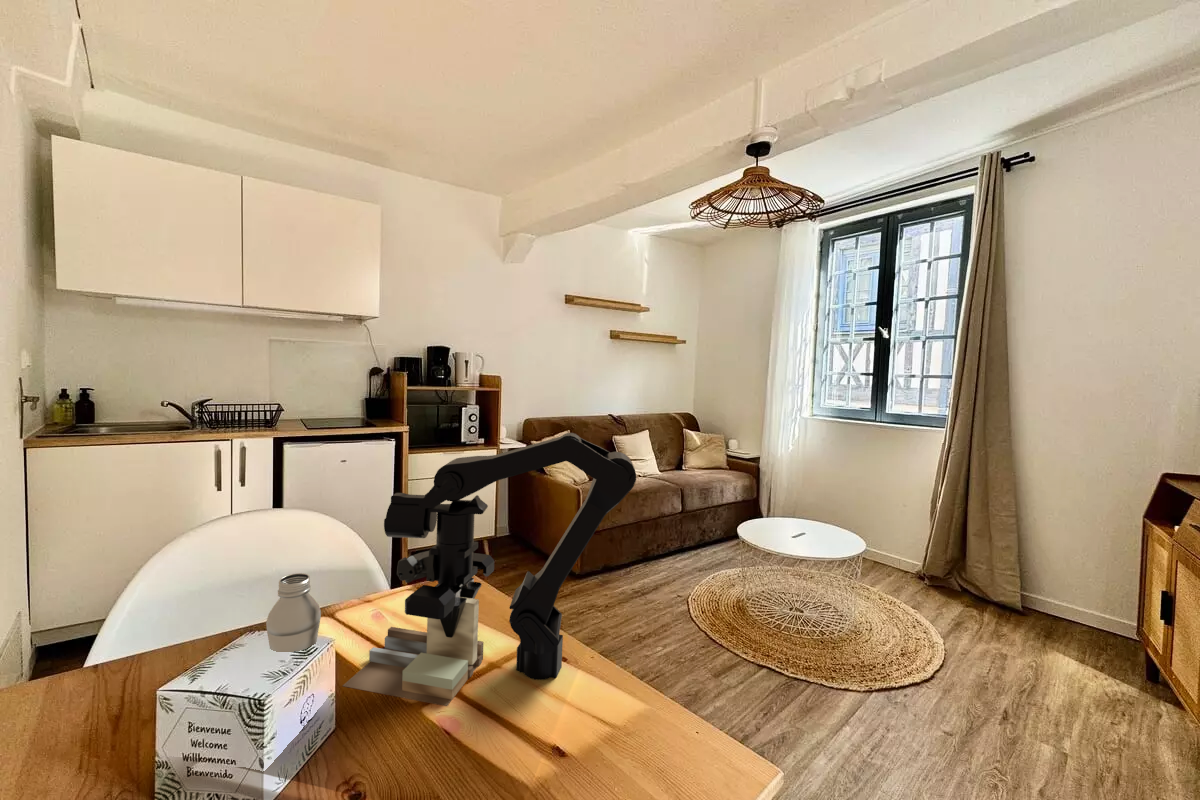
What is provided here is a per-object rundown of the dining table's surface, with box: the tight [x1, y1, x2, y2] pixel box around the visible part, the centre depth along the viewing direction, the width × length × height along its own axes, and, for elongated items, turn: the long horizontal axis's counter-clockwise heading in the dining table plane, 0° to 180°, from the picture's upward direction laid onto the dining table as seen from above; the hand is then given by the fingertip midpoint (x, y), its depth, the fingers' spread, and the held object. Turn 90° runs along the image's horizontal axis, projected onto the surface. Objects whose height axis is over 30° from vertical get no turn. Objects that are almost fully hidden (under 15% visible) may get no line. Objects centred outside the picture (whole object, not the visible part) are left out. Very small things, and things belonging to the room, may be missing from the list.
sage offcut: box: [402, 653, 468, 690], centre depth 76 cm, size 8×5×2 cm, turn 79°
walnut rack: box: [342, 626, 485, 707], centre depth 79 cm, size 17×12×4 cm
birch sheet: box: [426, 597, 480, 665], centre depth 81 cm, size 8×2×10 cm, turn 79°
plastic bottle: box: [265, 572, 322, 652], centre depth 68 cm, size 6×7×20 cm
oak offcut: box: [402, 670, 469, 701], centre depth 76 cm, size 8×5×2 cm, turn 79°
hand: (452, 633), depth 81 cm, fingers closed on birch sheet, 2 cm apart
